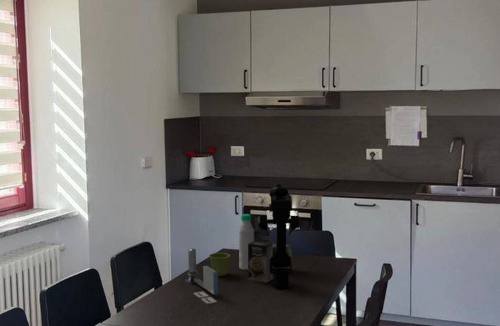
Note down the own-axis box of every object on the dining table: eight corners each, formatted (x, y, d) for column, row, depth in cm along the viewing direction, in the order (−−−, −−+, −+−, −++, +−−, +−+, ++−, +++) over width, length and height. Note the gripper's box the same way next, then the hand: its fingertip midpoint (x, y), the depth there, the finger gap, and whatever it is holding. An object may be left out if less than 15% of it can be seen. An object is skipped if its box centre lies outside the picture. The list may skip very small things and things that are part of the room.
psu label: (208, 296, 247) (208, 295, 247) (199, 298, 245) (199, 296, 245) (202, 292, 252) (202, 291, 252) (193, 293, 251) (193, 292, 250)
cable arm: (193, 281, 265) (192, 259, 264) (196, 280, 265) (196, 259, 264) (214, 295, 245) (213, 272, 244) (217, 295, 246) (217, 272, 245)
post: (200, 282, 266) (199, 250, 265) (189, 283, 264) (188, 251, 263) (196, 279, 271) (195, 247, 269) (185, 280, 268) (184, 248, 267)
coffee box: (247, 280, 268) (247, 243, 266) (254, 276, 274) (254, 240, 272) (266, 283, 264) (266, 245, 262) (273, 279, 269) (272, 242, 268)
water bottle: (252, 270, 283) (252, 216, 280) (237, 269, 284) (236, 215, 281) (255, 266, 290) (255, 213, 287) (241, 265, 291) (240, 213, 288)
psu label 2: (216, 302, 240) (216, 301, 240) (207, 304, 238) (207, 302, 238) (210, 297, 245) (210, 296, 245) (201, 299, 243) (201, 298, 243)
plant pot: (231, 271, 282) (231, 252, 281) (228, 277, 272) (228, 258, 271) (211, 271, 283) (210, 252, 282) (207, 277, 273) (207, 258, 272)
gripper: (298, 197, 284) (297, 222, 294) (258, 198, 284) (258, 222, 294) (300, 214, 275) (299, 239, 285) (258, 215, 276) (258, 239, 285)
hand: (278, 234), depth 288 cm, fingers open, 9 cm apart
